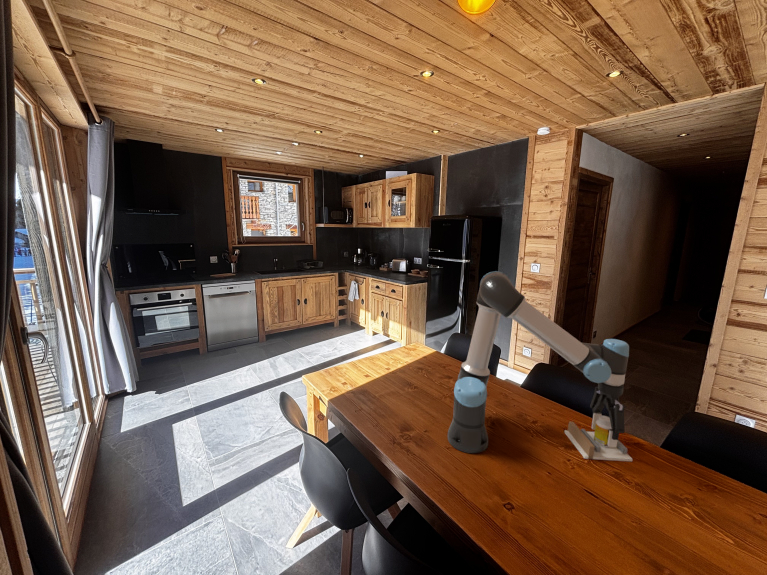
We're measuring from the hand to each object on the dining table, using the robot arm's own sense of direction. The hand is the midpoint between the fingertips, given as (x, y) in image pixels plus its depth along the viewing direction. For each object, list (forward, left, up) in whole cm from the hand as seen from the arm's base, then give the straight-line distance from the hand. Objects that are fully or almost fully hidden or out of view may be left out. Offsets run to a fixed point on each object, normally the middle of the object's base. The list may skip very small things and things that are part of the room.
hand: (603, 437), depth 119 cm
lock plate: (-2, -1, -4) cm, 4 cm away
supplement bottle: (0, 0, -3) cm, 3 cm away
